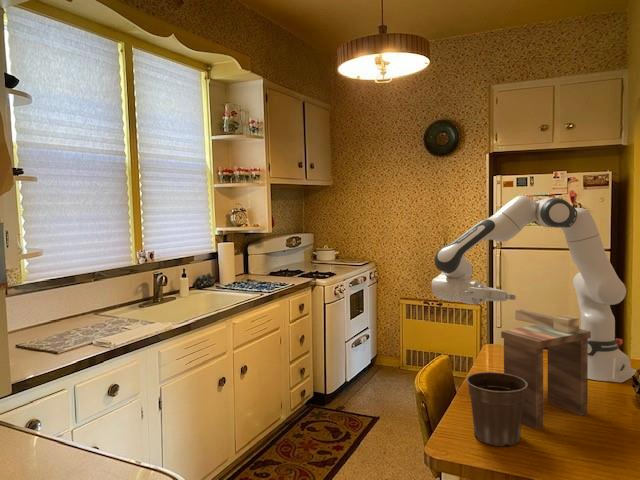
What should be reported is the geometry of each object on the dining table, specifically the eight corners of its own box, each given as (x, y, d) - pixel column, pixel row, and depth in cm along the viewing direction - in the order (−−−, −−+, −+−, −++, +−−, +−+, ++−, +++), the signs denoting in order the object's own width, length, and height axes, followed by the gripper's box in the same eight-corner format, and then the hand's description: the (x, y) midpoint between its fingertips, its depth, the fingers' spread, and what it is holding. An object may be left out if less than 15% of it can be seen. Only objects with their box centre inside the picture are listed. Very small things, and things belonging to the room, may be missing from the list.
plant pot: (474, 420, 149) (473, 368, 148) (531, 430, 141) (531, 376, 140) (460, 443, 135) (459, 385, 134) (523, 456, 127) (523, 395, 126)
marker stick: (524, 317, 168) (523, 306, 168) (579, 330, 149) (579, 317, 149) (513, 319, 166) (513, 308, 166) (567, 333, 147) (567, 319, 146)
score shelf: (551, 399, 162) (551, 322, 161) (590, 415, 150) (590, 331, 148) (501, 413, 153) (501, 331, 152) (538, 430, 140) (538, 341, 139)
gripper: (460, 281, 173) (499, 286, 164) (484, 285, 188) (521, 289, 179) (458, 299, 173) (497, 305, 163) (483, 301, 188) (519, 306, 178)
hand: (510, 297), depth 171 cm, fingers open, 8 cm apart
